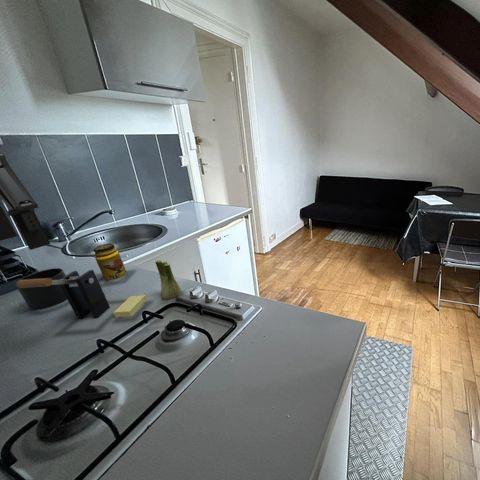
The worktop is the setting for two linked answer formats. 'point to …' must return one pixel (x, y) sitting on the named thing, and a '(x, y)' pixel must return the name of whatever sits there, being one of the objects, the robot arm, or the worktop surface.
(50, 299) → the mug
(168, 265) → the fennel bulb
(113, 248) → the condiment
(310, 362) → the worktop surface
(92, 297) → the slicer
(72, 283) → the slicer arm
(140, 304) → the butter
